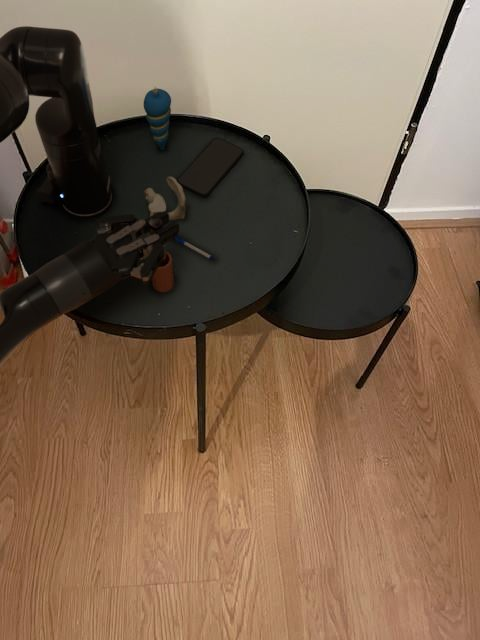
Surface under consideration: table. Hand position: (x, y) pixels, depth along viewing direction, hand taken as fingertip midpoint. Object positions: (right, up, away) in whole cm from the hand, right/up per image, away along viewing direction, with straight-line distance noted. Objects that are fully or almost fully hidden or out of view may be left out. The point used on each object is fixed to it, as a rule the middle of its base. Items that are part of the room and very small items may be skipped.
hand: (172, 221), depth 85 cm
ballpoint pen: (+1, -2, +16) cm, 16 cm away
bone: (-4, +4, +19) cm, 20 cm away
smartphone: (+5, +15, +26) cm, 30 cm away
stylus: (-3, -7, +9) cm, 12 cm away
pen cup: (-3, -9, +11) cm, 15 cm away
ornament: (-5, +19, +28) cm, 34 cm away
